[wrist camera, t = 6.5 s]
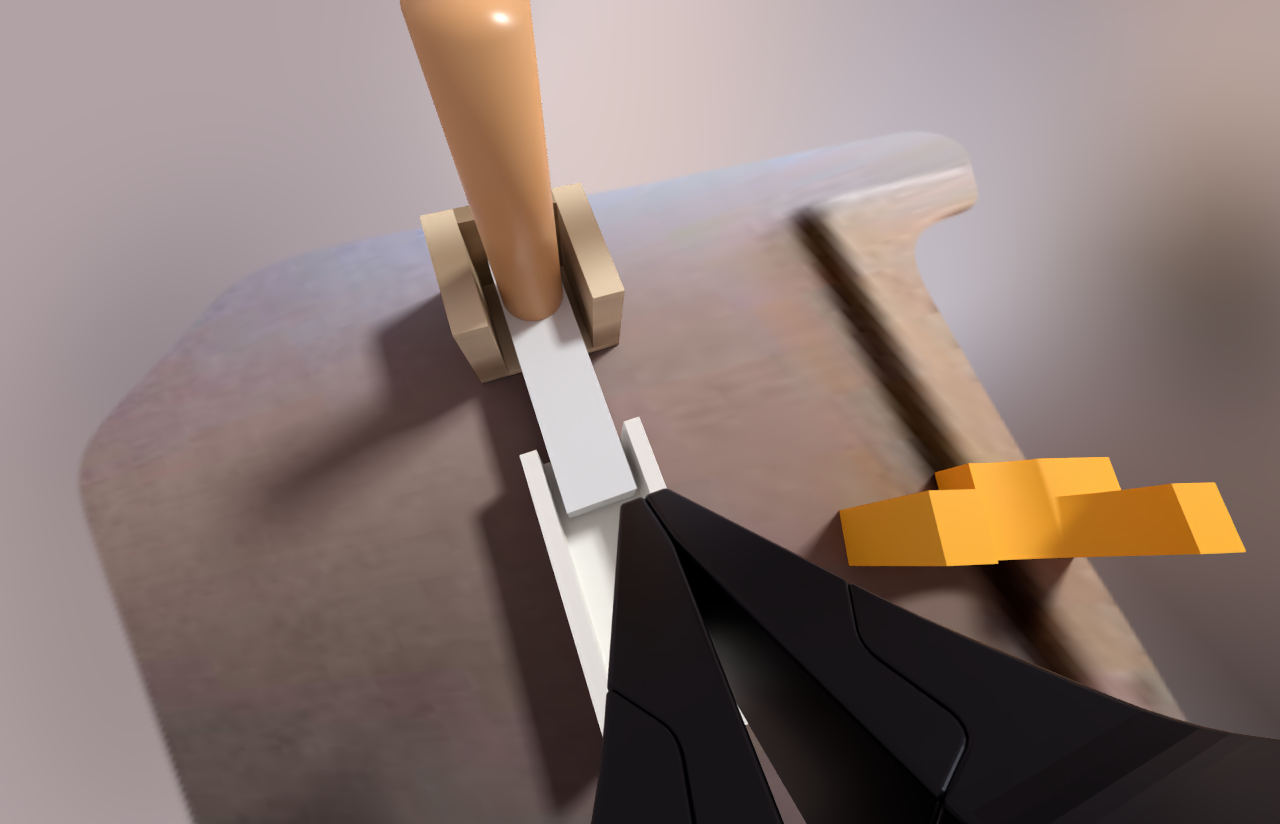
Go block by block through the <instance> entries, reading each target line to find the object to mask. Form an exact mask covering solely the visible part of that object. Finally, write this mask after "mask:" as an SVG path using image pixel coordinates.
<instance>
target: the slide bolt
mask: <svg viewBox="0 0 1280 824" xmlns="http://www.w3.org/2000/svg"><path fill="white" fill-rule="evenodd" d="M400 5H401V10H402V13H403V15H404V18H405V21H406V24H407V27H408V30H409V33H410V36H411V39H412V42H413V44H414V47H415V50H416V53H417V56H418V59H419V62H420V64H421V67H422V70H423V73H424V76H425V79H426V82H427V85H428V88H429V90H430V93H431V96H432V99H433V102H434V105H435V108H436V111H437V113H438V117H439V119H440V122H441V125H442V128H443V131H444V134H445V137H446V140H447V143H448V145H449V148H450V151H451V154H452V157H453V160H454V163H455V166H456V168H457V171H458V174H459V177H460V180H461V183H462V186H463V188H464V192H465V194H466V197H467V200H468V203H469V206H470V209H471V212H472V215H473V218H474V220H475V223H476V226H477V229H478V232H479V235H480V238H481V241H482V243H483V246H484V249H485V252H486V255H487V258H488V260H487V261H488V264H489V267H490V270H491V274H492V277H493V280H494V283H495V286H496V289H497V293H498V296H499V299H500V302H501V305H502V309H503V312H504V315H505V318H506V321H507V324H508V328H509V331H510V334H511V337H512V340H513V343H514V347H515V350H516V353H517V356H518V359H519V363H520V366H521V369H522V372H523V375H524V378H525V382H526V385H527V388H528V391H529V394H530V398H531V401H532V404H533V407H534V410H535V413H536V417H537V420H538V423H539V426H540V429H541V432H542V436H543V439H544V442H545V445H546V448H547V452H548V455H549V458H550V461H551V464H552V467H553V471H554V474H555V477H556V480H557V483H558V486H559V490H560V493H561V496H562V499H563V502H564V506H565V509H566V512H567V514H568V516H569V518H573V517H576V516H579V515H581V514H584V513H587V512H590V511H593V510H595V509H598V508H601V507H604V506H607V505H609V504H612V503H615V502H618V501H620V500H623V499H626V498H629V497H632V496H633V495H634V493H635V491H636V490H637V487H636V484H635V481H634V478H633V476H632V473H631V470H630V467H629V465H628V462H627V459H626V456H625V454H624V451H623V448H622V445H621V443H620V440H619V437H618V434H617V432H616V429H615V426H614V423H613V421H612V418H611V415H610V412H609V410H608V407H607V404H606V401H605V399H604V396H603V393H602V390H601V388H600V385H599V382H598V379H597V377H596V374H595V371H594V368H593V366H592V363H591V360H590V357H589V355H588V352H587V349H586V346H585V344H584V341H583V338H582V336H581V333H580V330H579V327H578V325H577V322H576V319H575V316H574V314H573V311H572V308H571V305H570V303H569V300H568V297H567V294H566V292H565V289H564V286H563V283H562V280H561V272H560V263H559V254H558V245H557V236H556V228H555V219H554V210H553V201H552V192H551V184H550V175H549V166H548V157H547V149H546V140H545V131H544V122H543V113H542V104H541V96H540V87H539V78H538V69H537V60H536V51H535V42H534V34H533V25H532V16H531V7H530V0H400Z"/></svg>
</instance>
